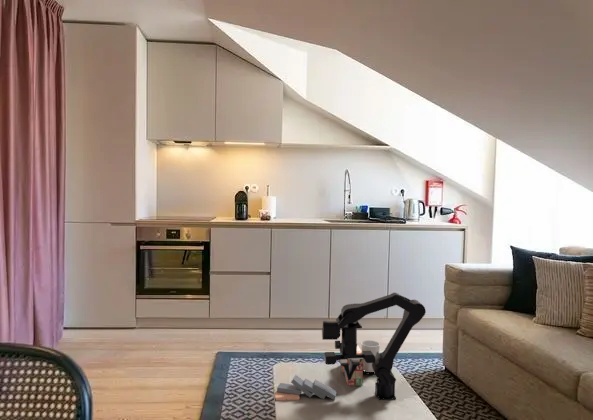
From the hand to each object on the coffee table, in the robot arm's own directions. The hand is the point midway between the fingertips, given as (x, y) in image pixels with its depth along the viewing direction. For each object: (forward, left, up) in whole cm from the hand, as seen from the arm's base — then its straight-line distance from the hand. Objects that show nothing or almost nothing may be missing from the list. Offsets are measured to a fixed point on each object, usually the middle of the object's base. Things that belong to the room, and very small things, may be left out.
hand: (349, 379), depth 172 cm
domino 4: (+9, 0, -6) cm, 11 cm away
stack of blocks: (-5, -19, -7) cm, 21 cm away
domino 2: (+19, -1, -6) cm, 20 cm away
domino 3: (+14, -1, -6) cm, 15 cm away
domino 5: (+5, +1, -6) cm, 8 cm away
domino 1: (+18, -2, -5) cm, 19 cm away
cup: (-14, -23, -7) cm, 28 cm away
